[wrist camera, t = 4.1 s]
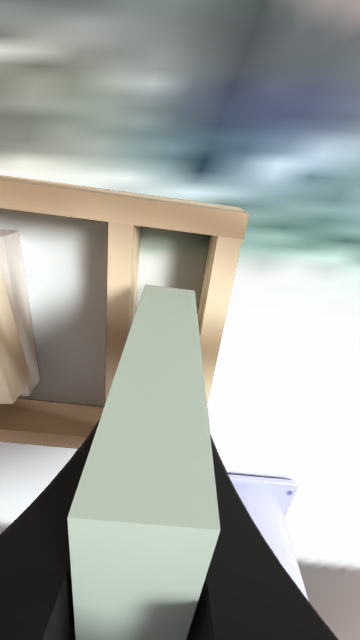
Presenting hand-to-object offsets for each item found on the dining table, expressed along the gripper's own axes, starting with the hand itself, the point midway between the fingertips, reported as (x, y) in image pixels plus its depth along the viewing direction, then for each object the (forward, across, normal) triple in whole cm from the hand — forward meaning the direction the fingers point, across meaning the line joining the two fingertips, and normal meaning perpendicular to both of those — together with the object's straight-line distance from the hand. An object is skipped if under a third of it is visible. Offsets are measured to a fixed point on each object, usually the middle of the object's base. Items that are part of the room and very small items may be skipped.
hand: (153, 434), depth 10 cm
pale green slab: (+4, 0, 0) cm, 4 cm away
